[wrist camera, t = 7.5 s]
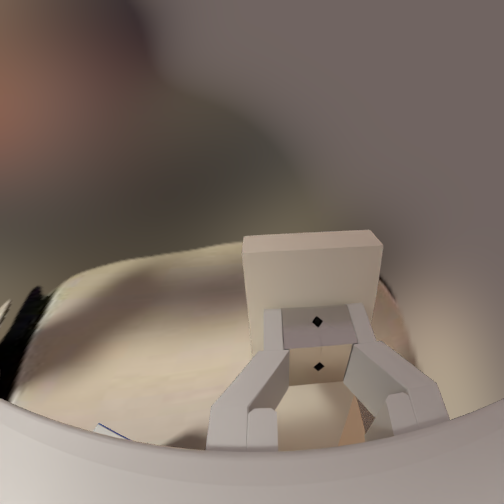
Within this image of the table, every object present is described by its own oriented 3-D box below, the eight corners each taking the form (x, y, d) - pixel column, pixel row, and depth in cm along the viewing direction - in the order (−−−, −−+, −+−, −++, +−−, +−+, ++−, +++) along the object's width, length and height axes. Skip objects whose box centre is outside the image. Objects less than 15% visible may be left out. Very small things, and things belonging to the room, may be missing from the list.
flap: (231, 458, 14) (177, 256, 8) (236, 406, 17) (203, 212, 12) (365, 448, 13) (434, 242, 8) (353, 397, 17) (387, 203, 11)
